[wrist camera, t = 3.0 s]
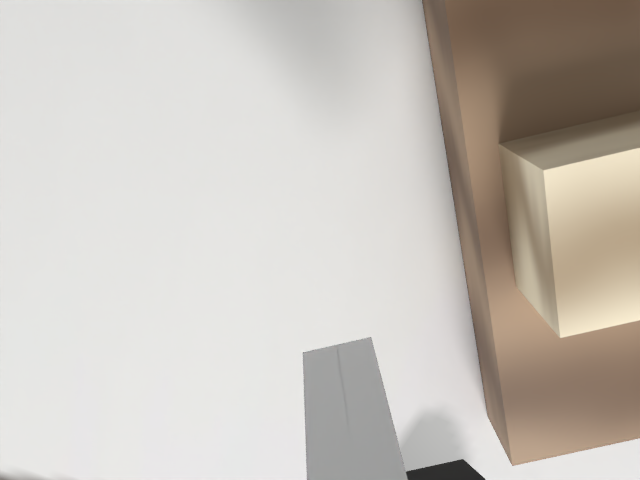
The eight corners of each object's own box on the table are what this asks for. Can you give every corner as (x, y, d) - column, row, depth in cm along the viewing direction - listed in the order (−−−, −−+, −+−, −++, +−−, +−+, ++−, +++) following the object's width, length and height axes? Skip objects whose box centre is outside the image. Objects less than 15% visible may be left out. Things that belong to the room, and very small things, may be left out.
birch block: (498, 144, 18) (543, 170, 15) (658, 105, 18) (739, 124, 15) (516, 286, 20) (560, 338, 17) (662, 253, 20) (736, 298, 17)
